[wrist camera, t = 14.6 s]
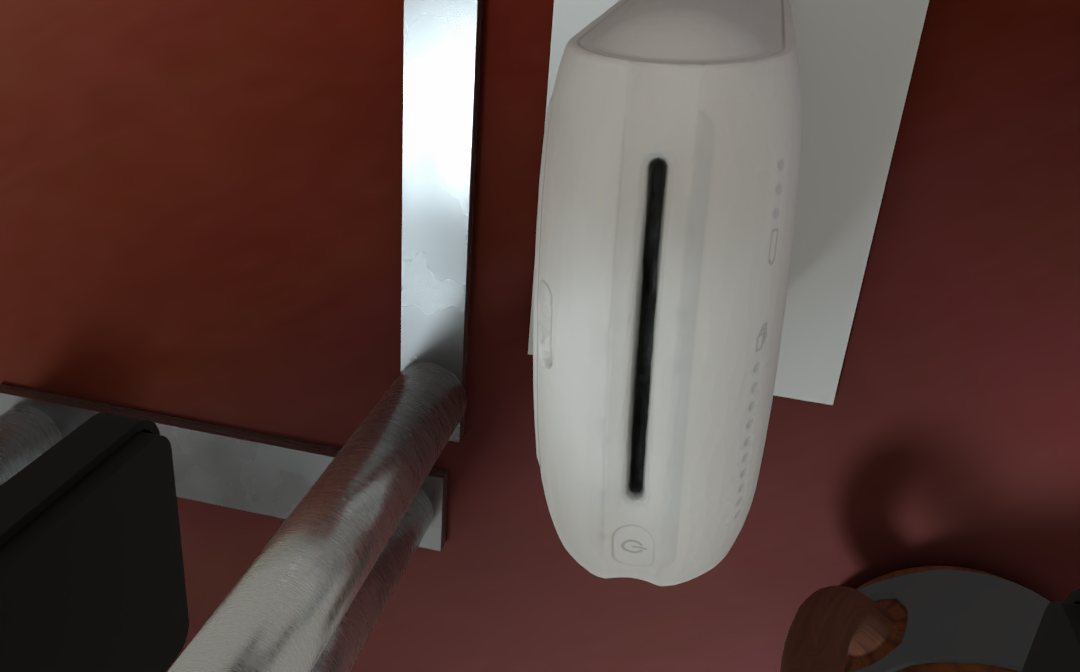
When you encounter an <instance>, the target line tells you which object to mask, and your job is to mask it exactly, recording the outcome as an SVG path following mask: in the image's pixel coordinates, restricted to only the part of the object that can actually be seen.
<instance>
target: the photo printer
mask: <svg viewBox="0 0 1080 672" xmlns="http://www.w3.org/2000/svg"><path fill="white" fill-rule="evenodd" d="M801 142H802V103H801V88H800V73H799V64H798V55H797V46H796V35H795V28H794V21H793V14H792V7H791V0H620V1H618V2H617V3H616V4H615V5H613V6H612V7H611V8H609V9H608V10H607V11H606V12H604V13H603V14H602V15H601V16H599V17H598V18H596V19H595V20H594V21H592V22H591V23H590V24H588V25H587V26H586V27H585V28H584V29H583V30H581V31H580V32H579V33H577V34H576V35H574V36H573V37H572V38H571V39H570V40H569V41H568V43H567V44H566V47H565V50H564V53H563V56H562V59H561V62H560V65H559V69H558V73H557V77H556V81H555V85H554V89H553V93H552V96H551V99H550V102H549V106H548V111H547V117H546V123H545V131H544V139H543V148H542V159H541V169H540V179H539V194H538V211H537V226H536V246H535V265H534V293H533V300H534V301H533V394H534V422H535V435H536V454H537V459H538V462H539V465H540V470H541V479H542V484H543V488H544V493H545V497H546V501H547V505H548V509H549V512H550V515H551V518H552V521H553V524H554V526H555V529H556V531H557V534H558V536H559V538H560V540H561V542H562V544H563V546H564V547H565V549H566V550H567V551H568V552H569V554H570V555H571V556H572V557H573V558H574V559H575V560H576V561H577V562H578V563H579V564H580V565H581V566H583V567H584V568H585V569H586V570H588V571H589V572H590V573H592V574H594V575H595V576H597V577H601V578H616V577H629V578H636V579H640V580H644V581H647V582H650V583H652V584H655V585H657V586H670V585H677V584H680V583H683V582H686V581H689V580H691V579H693V578H696V577H698V576H700V575H702V574H704V573H706V572H707V571H709V570H711V569H712V568H714V567H715V566H716V565H717V564H718V563H720V562H721V561H722V560H723V558H724V557H725V556H726V555H727V553H728V552H729V550H730V549H731V547H732V546H733V544H734V542H735V540H736V538H737V536H738V534H739V532H740V531H741V529H742V527H743V525H744V522H745V520H746V517H747V515H748V512H749V510H750V507H751V504H752V500H753V497H754V493H755V490H756V485H757V480H758V477H759V471H760V466H761V461H762V456H763V451H764V446H765V440H766V435H767V429H768V423H769V417H770V412H771V406H772V400H773V393H774V387H775V380H776V373H777V366H778V359H779V351H780V344H781V336H782V328H783V321H784V313H785V306H786V297H787V289H788V280H789V272H790V263H791V255H792V246H793V236H794V225H795V215H796V204H797V194H798V183H799V171H800V158H801Z"/></svg>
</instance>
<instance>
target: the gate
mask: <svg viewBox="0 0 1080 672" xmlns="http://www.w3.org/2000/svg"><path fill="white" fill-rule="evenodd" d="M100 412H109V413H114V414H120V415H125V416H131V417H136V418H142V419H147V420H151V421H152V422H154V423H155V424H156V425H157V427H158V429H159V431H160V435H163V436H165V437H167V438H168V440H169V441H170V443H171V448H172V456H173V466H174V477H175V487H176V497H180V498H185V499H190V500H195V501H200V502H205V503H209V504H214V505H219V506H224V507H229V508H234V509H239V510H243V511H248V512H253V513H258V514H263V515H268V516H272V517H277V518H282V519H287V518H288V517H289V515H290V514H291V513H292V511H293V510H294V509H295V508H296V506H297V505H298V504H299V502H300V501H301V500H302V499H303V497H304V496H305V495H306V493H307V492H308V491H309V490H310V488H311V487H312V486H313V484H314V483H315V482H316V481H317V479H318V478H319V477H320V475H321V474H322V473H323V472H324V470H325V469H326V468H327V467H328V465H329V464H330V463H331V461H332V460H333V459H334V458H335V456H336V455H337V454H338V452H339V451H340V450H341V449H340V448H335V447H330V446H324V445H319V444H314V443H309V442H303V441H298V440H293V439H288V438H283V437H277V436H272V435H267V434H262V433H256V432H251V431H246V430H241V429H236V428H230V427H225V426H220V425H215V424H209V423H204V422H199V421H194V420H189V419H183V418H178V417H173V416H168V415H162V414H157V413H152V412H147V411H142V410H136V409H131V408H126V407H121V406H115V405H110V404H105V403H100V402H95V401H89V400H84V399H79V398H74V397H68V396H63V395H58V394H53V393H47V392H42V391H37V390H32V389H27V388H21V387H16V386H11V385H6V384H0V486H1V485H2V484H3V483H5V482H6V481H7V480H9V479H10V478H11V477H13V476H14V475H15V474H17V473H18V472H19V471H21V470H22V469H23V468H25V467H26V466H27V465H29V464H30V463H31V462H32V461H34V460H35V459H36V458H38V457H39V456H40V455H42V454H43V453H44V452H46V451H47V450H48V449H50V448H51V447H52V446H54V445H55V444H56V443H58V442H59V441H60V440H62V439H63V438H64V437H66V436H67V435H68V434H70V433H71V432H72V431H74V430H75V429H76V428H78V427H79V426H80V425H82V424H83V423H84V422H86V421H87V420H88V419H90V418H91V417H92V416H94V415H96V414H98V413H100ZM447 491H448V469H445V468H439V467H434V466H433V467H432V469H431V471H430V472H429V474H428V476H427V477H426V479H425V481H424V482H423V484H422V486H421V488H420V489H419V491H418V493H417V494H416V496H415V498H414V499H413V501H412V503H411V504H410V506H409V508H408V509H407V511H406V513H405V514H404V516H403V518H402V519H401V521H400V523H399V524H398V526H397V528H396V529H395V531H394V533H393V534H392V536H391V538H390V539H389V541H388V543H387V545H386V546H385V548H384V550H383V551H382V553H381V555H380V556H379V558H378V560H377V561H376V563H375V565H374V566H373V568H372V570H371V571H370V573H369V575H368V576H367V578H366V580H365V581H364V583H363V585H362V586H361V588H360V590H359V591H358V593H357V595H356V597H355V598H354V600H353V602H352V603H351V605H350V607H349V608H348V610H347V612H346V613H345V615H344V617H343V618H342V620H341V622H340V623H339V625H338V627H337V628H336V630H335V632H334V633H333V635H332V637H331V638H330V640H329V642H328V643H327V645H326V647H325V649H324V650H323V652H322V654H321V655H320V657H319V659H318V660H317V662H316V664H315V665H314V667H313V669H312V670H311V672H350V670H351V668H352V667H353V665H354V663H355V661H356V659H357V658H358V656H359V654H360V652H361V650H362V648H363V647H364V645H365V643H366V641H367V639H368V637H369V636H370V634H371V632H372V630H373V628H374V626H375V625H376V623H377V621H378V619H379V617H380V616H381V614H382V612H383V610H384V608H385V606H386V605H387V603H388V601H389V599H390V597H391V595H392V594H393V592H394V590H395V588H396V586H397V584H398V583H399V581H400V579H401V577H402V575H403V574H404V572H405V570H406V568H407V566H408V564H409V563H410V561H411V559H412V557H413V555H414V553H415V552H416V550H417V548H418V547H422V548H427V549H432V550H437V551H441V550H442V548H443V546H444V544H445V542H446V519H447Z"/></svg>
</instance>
